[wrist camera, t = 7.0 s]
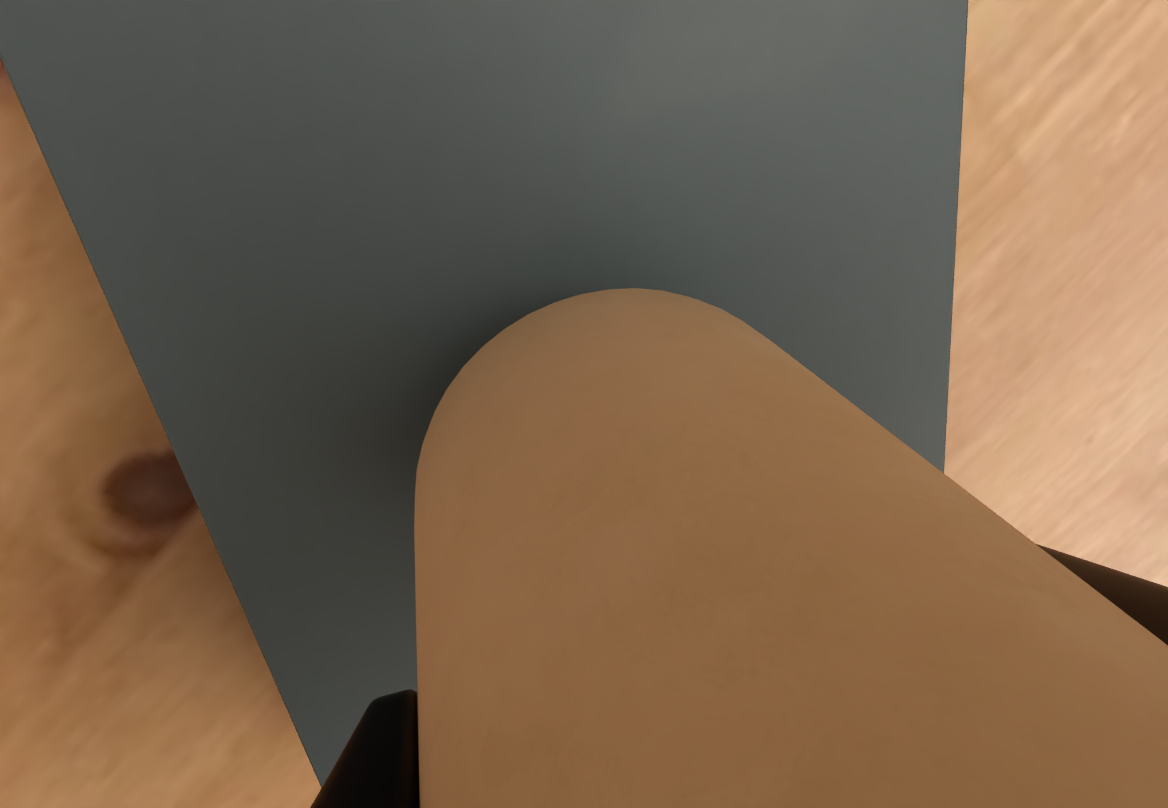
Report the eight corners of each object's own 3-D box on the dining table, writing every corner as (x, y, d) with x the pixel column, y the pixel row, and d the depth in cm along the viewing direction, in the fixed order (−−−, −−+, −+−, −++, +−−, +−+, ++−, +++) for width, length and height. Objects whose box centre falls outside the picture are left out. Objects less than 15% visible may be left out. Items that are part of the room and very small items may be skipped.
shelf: (366, 695, 19) (355, 869, 15) (81, -65, 12) (-84, -126, 8) (829, 571, 20) (933, 699, 16) (811, -173, 13) (984, -271, 9)
